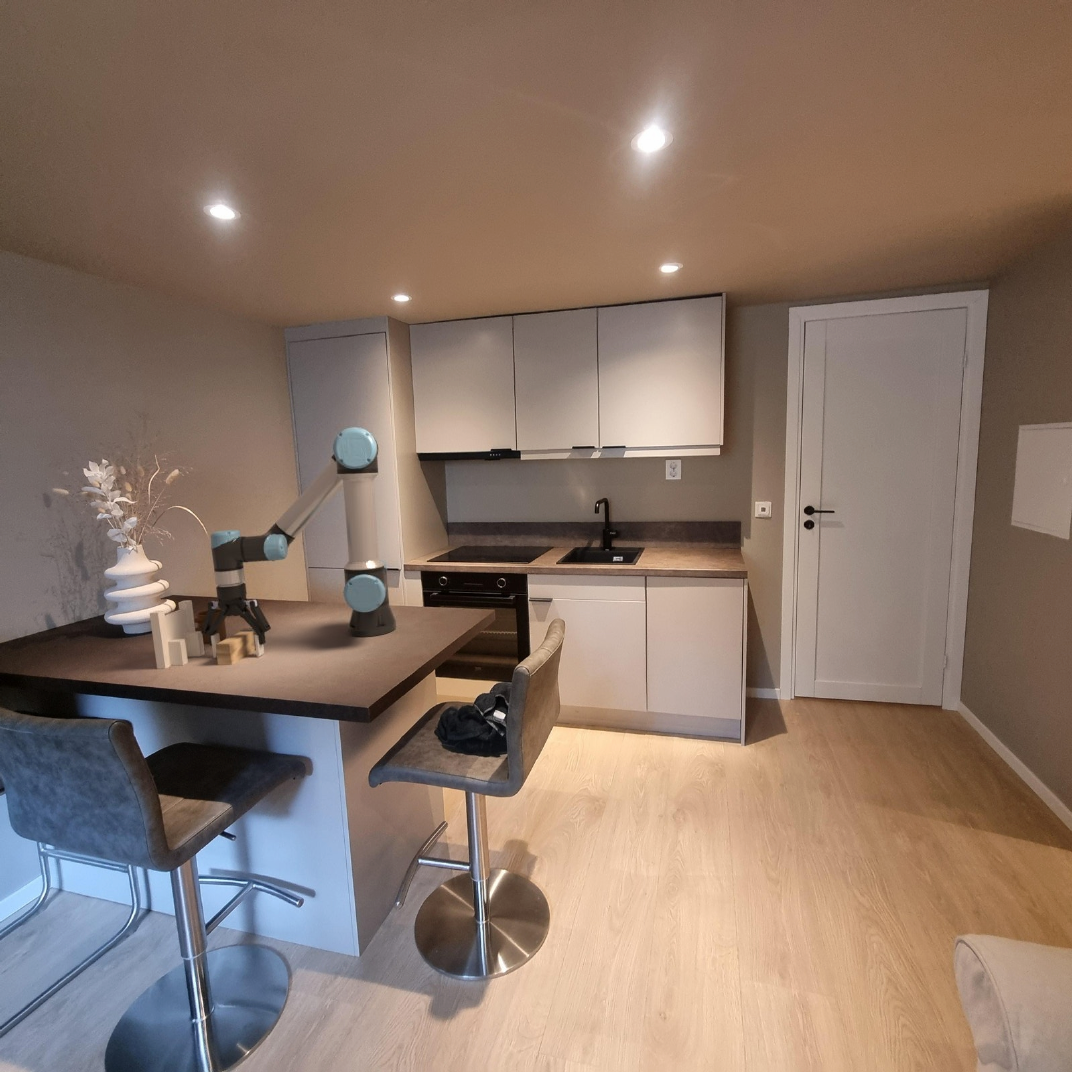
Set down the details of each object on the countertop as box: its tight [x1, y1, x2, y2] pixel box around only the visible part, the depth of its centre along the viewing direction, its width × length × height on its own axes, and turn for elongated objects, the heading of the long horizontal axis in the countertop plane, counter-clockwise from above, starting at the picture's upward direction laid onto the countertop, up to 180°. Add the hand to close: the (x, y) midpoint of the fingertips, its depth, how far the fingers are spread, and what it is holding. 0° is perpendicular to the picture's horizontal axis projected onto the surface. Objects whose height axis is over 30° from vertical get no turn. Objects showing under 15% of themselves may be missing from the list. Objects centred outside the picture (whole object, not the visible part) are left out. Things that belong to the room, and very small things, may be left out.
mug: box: [194, 608, 227, 645], centre depth 180 cm, size 12×8×9 cm, turn 159°
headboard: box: [149, 599, 206, 670], centre depth 164 cm, size 6×14×16 cm, turn 177°
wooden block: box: [216, 627, 257, 666], centre depth 165 cm, size 14×4×6 cm, turn 177°
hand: (239, 655), depth 166 cm, fingers open, 12 cm apart
